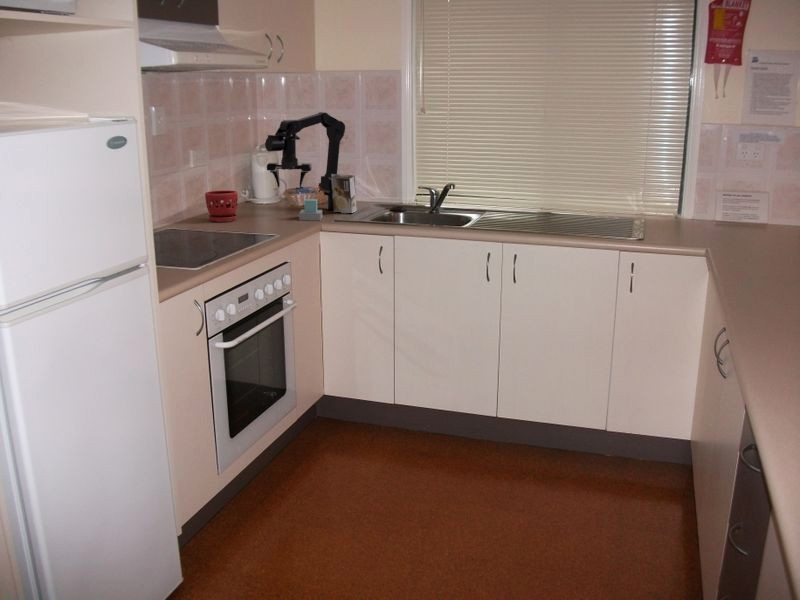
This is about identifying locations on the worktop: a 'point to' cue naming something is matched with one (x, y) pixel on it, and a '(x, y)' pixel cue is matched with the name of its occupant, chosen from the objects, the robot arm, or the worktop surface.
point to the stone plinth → (310, 215)
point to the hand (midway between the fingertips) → (289, 187)
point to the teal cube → (310, 205)
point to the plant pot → (222, 205)
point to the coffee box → (344, 193)
